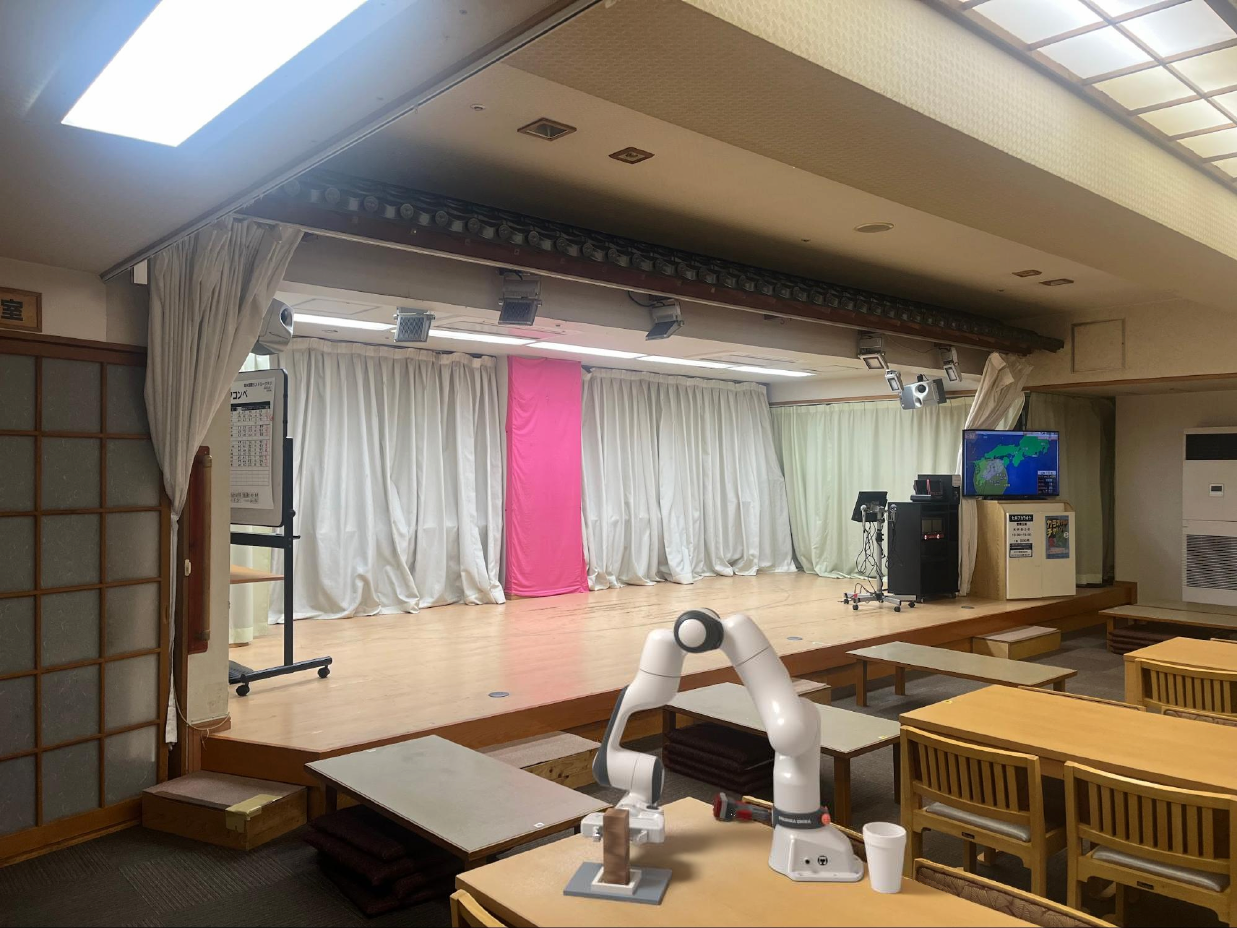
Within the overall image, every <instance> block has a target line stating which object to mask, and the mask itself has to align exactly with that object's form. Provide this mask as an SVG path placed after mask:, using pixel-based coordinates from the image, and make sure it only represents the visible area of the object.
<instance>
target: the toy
mask: <svg viewBox="0 0 1237 928" xmlns="http://www.w3.org/2000/svg"><path fill="white" fill-rule="evenodd" d="M714 796H715V797H714V802H713V807H714V808H713V807H712V811H713V813H712V814H713V815H712V816H713V818H716V819H718V820H719V821H720V820H721V821H726V822H733V820H734V819H735V818H736V819H741V820H745V821H746V820H747V821H751V819H753V820H758V821H764V822H769V821H770V818H771V814H770V812H769V810H768V808H765V807H760V806H755V805H750V804H747V802H744V801H739V800H735V799H734V797H730V796H726V794H725V793H724V792H719V794H715V795H714ZM731 814H732V815H731ZM734 815H735V816H734Z"/></svg>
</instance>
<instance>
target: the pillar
mask: <svg viewBox="0 0 1237 928" xmlns="http://www.w3.org/2000/svg"><path fill="white" fill-rule="evenodd" d="M604 813H605V814H604V815H603V838H602V843H603V844H602V845H603V846H602V848H603V849H602V850H603V852H602V853H603V854H602V855H603V869H604V883H607V884H616V885H626V886H627V884H628V883H629V881H630V866H631V857H630V855H631V854H630V853H631V847H630V843H631V841H630V829H629V810H627V809H615V807H613V808H612V807H608V808H607V809H606V811H605V812H604Z"/></svg>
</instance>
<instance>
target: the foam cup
mask: <svg viewBox="0 0 1237 928" xmlns="http://www.w3.org/2000/svg"><path fill="white" fill-rule="evenodd" d="M862 839H863V841H864V847H865V854H866V860H867V867H868V873H869V875H868V876H869V880H870V886H871V889H873V890H874V891H875V892H879V893H882V894H887V893H888V895H889V894H890V895H891V893H892V894H897V893H899V892H900V891H901V886H902V878H903V869H904V868H903V867H904V859H905V851H906V850H905V849H906V848H905V847H906V844H907V831H906V830H905V828H904V827H903V826H900V825H898V824H895V823H890V822H885V821H884V822H883V821H874V822H868V823H866V824H864V825H863V827H862Z"/></svg>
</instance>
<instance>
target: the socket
mask: <svg viewBox="0 0 1237 928" xmlns="http://www.w3.org/2000/svg"><path fill="white" fill-rule="evenodd" d="M640 879H641V870H632V869H630V881H629V883H628V884H627V886H626V885H616V884H607V883H604V869H603V867H602V868H601V869H600V871H599V873H598V874H597V876H596V877H595V879H594V880H593V882H592V883H591V891H599V892H608V893H618V894H627V895H632V894H633V892H634V890H635V888H636V886H637V885H638V883H639V881H640Z"/></svg>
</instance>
